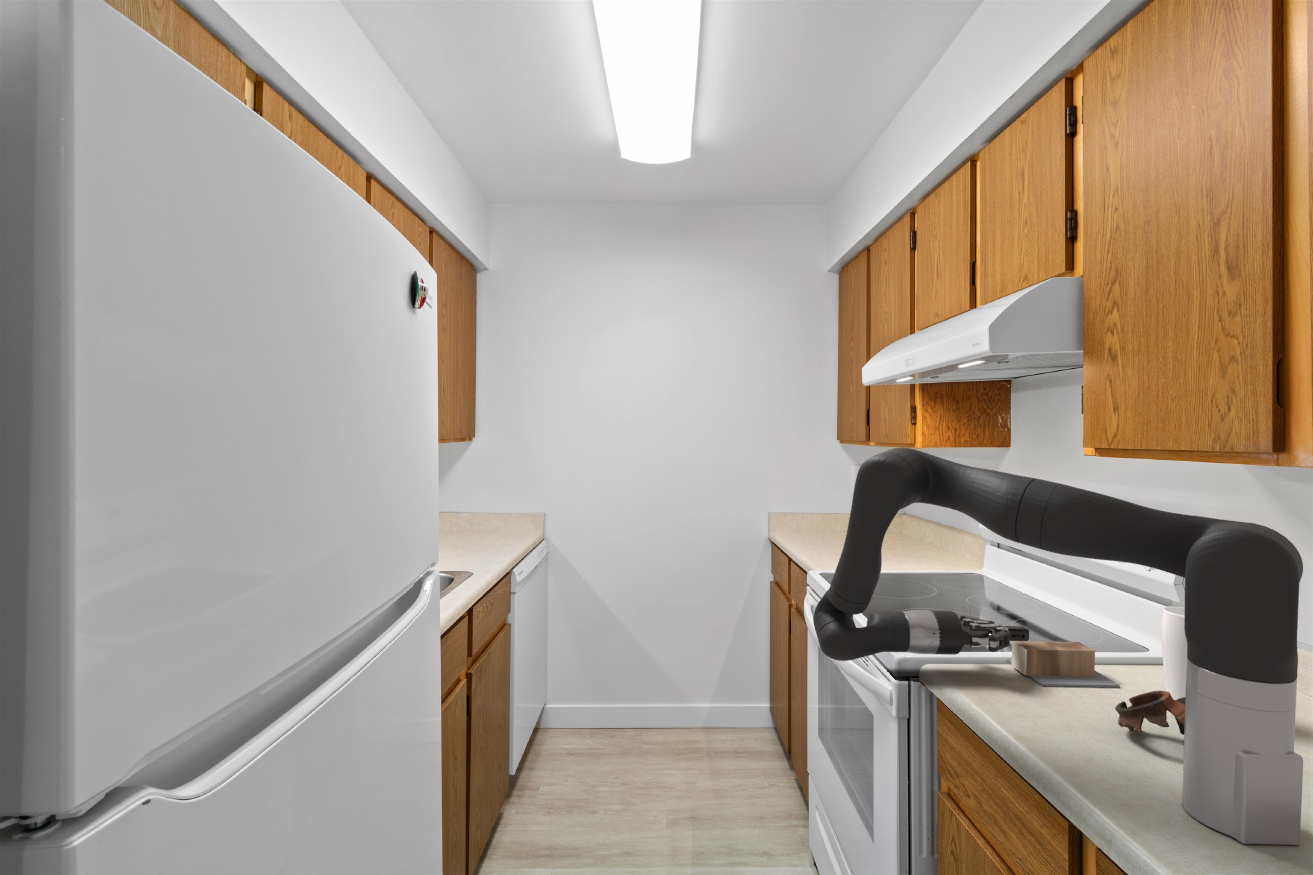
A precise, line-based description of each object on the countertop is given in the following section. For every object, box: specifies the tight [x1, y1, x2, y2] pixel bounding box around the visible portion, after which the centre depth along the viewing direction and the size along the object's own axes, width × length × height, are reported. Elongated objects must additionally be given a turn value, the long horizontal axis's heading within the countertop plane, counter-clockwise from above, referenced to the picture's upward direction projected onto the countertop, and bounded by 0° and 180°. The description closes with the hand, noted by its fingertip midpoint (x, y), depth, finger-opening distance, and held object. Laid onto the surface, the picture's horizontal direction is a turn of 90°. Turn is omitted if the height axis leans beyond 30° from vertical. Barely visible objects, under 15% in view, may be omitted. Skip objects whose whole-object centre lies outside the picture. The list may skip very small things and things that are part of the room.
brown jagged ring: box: [1114, 690, 1185, 736], centre depth 92 cm, size 12×10×8 cm
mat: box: [1006, 659, 1121, 689], centre depth 117 cm, size 12×13×1 cm
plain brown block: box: [1010, 640, 1096, 676], centre depth 117 cm, size 4×4×12 cm
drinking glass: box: [1160, 605, 1187, 700], centre depth 104 cm, size 7×7×15 cm
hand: (1026, 633), depth 117 cm, fingers closed
